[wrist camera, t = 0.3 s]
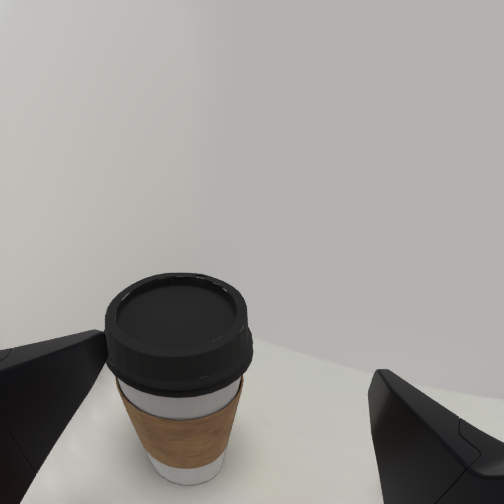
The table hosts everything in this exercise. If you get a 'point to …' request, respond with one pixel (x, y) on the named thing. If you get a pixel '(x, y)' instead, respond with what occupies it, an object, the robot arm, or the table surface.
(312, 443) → the table surface
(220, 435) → the coffee cup
